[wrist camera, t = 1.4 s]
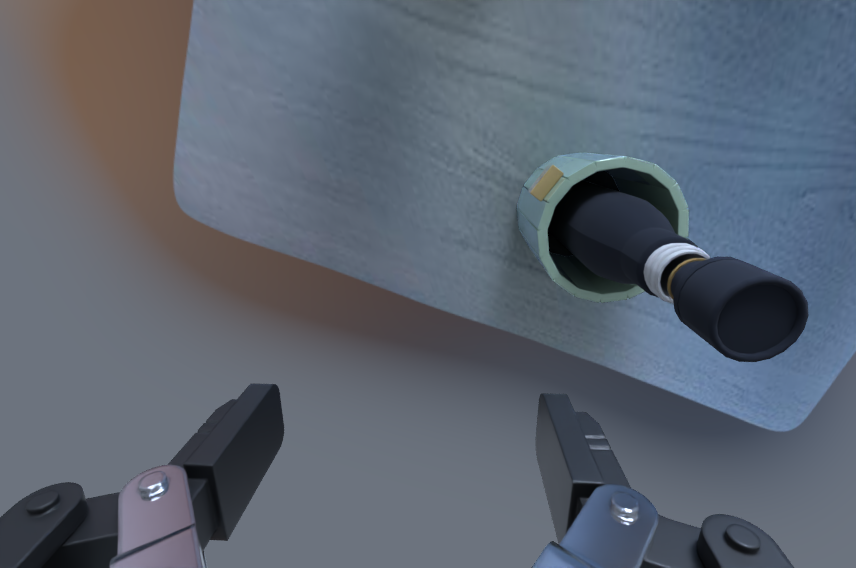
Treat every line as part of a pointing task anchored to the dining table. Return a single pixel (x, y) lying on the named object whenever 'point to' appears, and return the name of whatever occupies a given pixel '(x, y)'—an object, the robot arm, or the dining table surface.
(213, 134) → the dining table surface
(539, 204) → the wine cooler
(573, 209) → the wine bottle
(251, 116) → the dining table surface
